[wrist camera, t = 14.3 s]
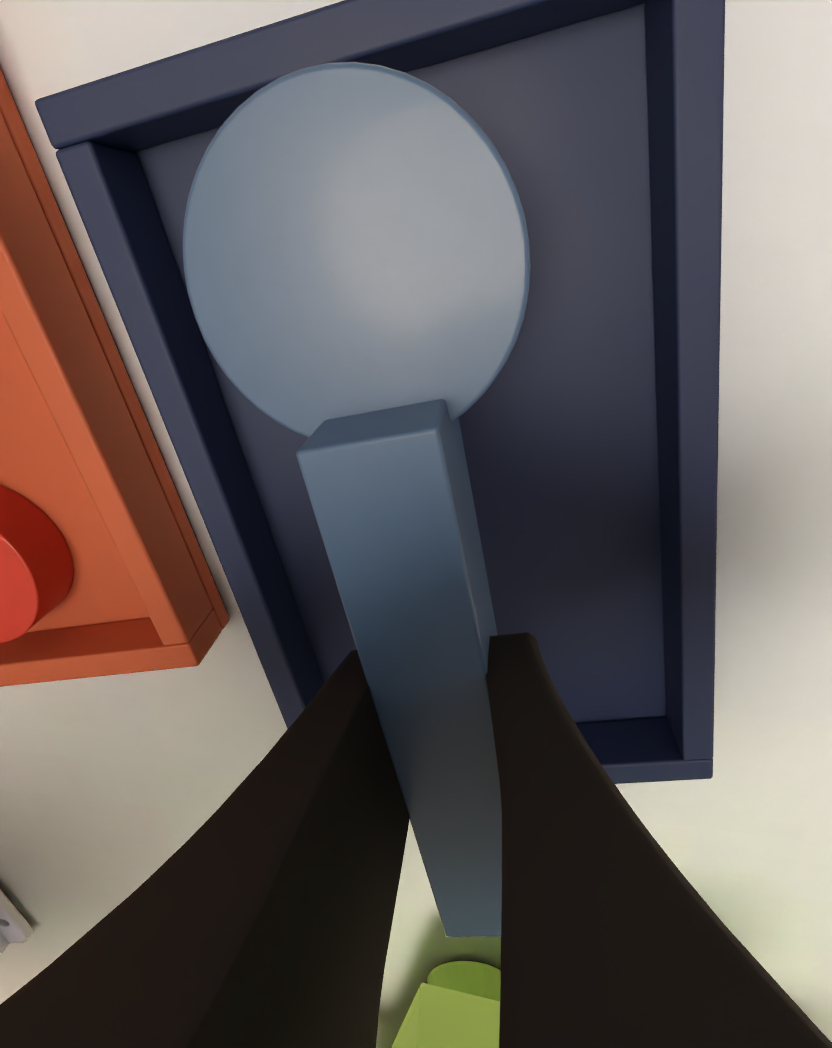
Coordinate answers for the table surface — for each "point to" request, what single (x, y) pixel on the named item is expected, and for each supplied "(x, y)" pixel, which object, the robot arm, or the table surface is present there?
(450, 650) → the blue spoon
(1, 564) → the red spoon
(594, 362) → the blue tray
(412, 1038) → the green knobbed cubic container
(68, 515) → the orange tray
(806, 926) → the table surface
